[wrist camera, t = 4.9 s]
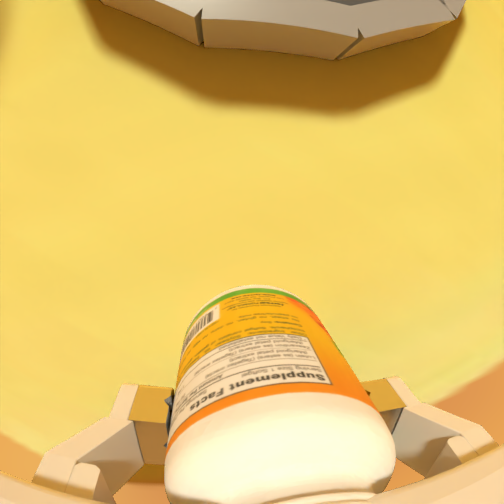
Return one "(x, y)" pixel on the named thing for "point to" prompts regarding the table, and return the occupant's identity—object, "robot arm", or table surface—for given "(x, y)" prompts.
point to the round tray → (295, 23)
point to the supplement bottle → (271, 410)
